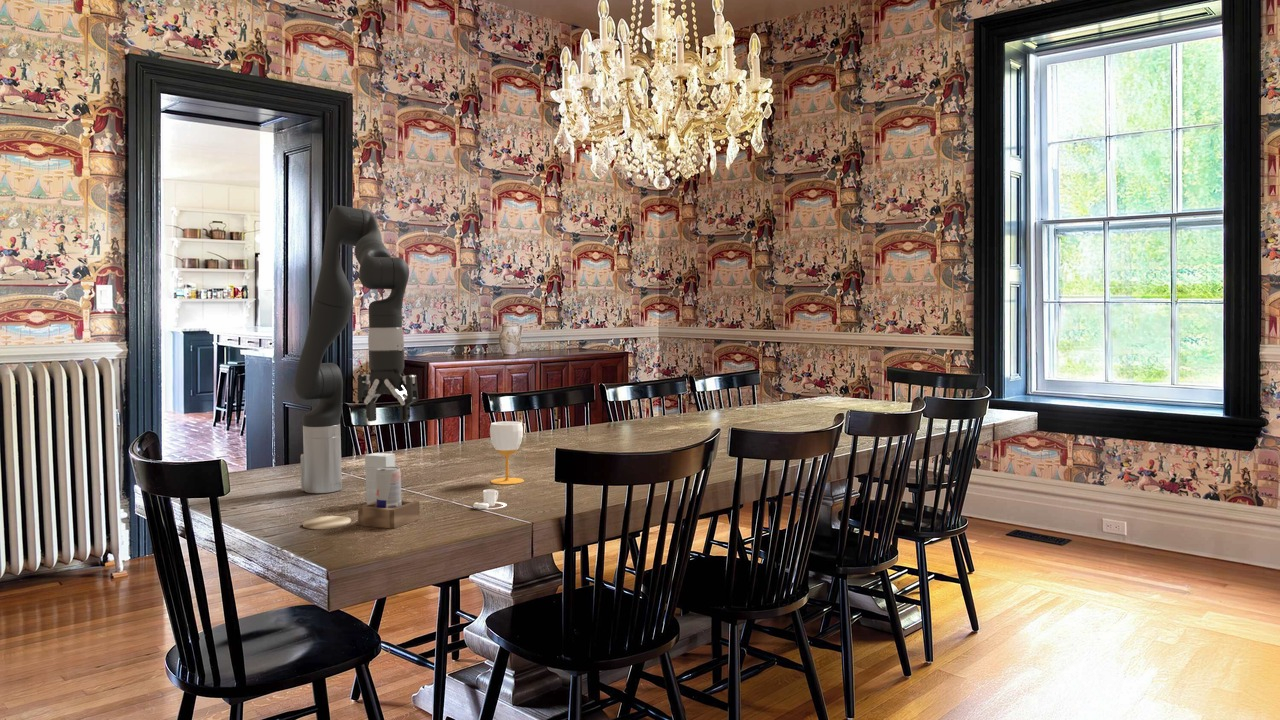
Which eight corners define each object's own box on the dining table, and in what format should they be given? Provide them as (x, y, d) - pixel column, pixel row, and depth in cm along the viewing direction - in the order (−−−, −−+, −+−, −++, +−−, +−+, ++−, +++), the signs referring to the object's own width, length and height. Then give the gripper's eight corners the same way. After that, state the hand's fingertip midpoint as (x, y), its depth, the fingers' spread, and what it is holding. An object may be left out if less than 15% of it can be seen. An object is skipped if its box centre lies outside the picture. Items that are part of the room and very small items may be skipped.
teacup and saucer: (478, 513, 212) (477, 495, 212) (464, 507, 218) (464, 490, 218) (512, 508, 217) (512, 491, 216) (498, 502, 223) (498, 486, 223)
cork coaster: (292, 527, 197) (292, 524, 197) (324, 517, 207) (324, 514, 207) (330, 530, 194) (330, 528, 194) (360, 520, 203) (360, 517, 203)
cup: (506, 477, 254) (506, 420, 253) (530, 480, 249) (530, 422, 248) (483, 482, 247) (482, 423, 246) (507, 486, 241) (506, 426, 240)
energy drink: (379, 519, 204) (378, 466, 203) (403, 519, 204) (402, 466, 204) (374, 525, 199) (373, 470, 198) (399, 524, 199) (398, 470, 198)
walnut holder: (358, 525, 199) (357, 507, 199) (384, 515, 208) (384, 498, 207) (394, 528, 196) (394, 510, 195) (419, 518, 204) (419, 501, 204)
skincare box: (397, 502, 222) (395, 453, 222) (386, 505, 218) (385, 456, 218) (375, 500, 224) (374, 452, 224) (365, 504, 220) (364, 455, 220)
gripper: (348, 348, 199) (350, 422, 199) (403, 349, 194) (405, 424, 194) (369, 347, 206) (371, 418, 206) (423, 347, 201) (425, 420, 201)
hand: (388, 421), depth 200 cm, fingers open, 8 cm apart
